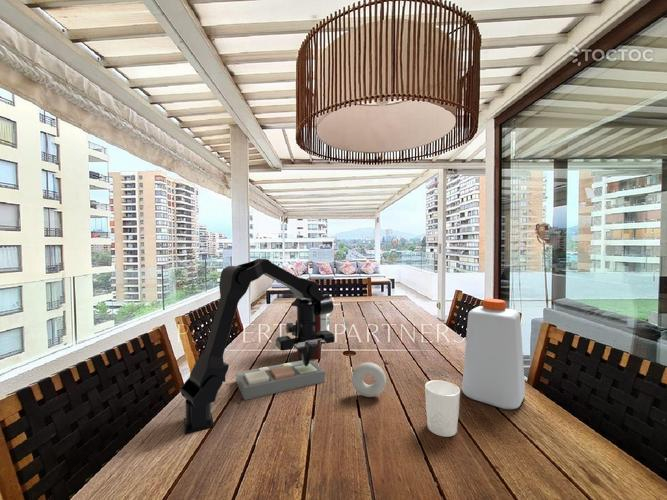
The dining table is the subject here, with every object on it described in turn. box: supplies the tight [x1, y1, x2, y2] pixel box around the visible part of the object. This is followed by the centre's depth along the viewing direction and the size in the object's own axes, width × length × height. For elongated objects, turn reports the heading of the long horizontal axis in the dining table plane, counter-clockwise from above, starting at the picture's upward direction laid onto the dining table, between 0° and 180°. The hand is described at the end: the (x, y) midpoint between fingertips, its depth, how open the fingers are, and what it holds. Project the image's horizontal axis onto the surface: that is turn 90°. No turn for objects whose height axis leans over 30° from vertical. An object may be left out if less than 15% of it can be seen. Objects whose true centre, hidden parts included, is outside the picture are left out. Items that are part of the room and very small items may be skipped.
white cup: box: [424, 379, 461, 438], centre depth 74 cm, size 8×8×10 cm
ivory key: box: [245, 370, 269, 385], centre depth 94 cm, size 6×6×2 cm
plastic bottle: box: [461, 298, 526, 410], centre depth 90 cm, size 15×15×28 cm
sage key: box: [294, 364, 318, 375], centre depth 101 cm, size 6×6×2 cm
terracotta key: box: [270, 365, 294, 380], centre depth 97 cm, size 6×6×2 cm
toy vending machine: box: [296, 296, 322, 361], centre depth 122 cm, size 9×11×28 cm
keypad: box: [235, 360, 325, 401], centre depth 99 cm, size 13×25×4 cm, turn 117°
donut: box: [351, 361, 387, 398], centre depth 90 cm, size 10×4×10 cm, turn 82°
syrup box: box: [321, 313, 331, 344], centre depth 141 cm, size 6×6×14 cm
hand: (305, 365), depth 101 cm, fingers closed
